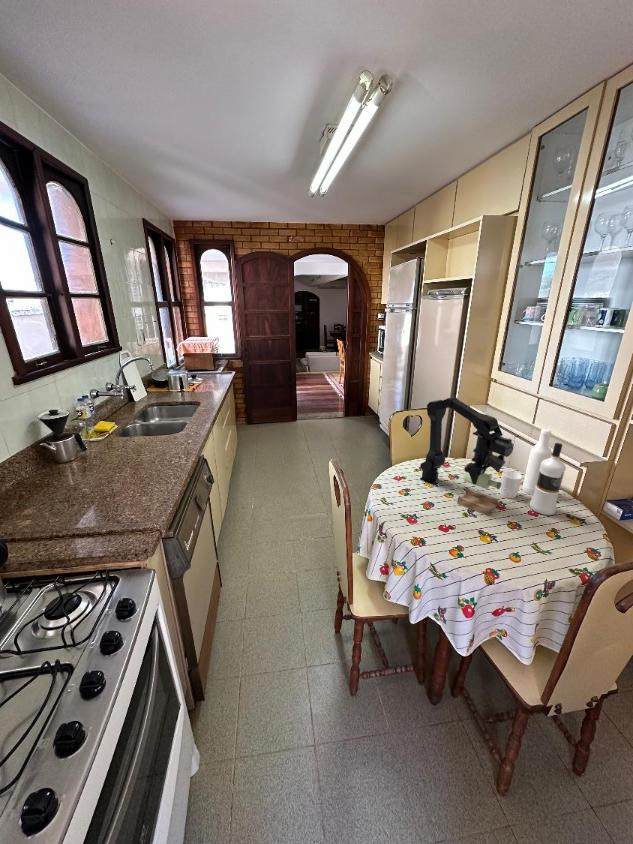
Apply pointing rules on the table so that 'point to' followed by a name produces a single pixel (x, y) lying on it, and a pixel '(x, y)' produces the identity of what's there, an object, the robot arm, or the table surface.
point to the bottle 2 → (536, 461)
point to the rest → (478, 502)
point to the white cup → (510, 484)
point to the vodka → (548, 483)
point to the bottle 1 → (483, 481)
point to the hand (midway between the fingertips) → (477, 481)
